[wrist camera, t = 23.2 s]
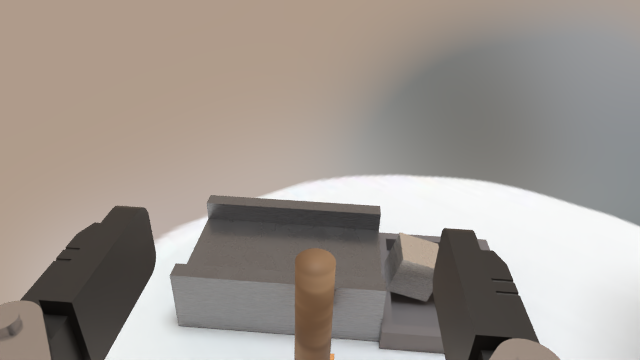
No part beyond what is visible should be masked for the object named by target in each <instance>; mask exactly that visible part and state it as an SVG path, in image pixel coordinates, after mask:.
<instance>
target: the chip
mask: <svg viewBox="0 0 640 360" xmlns="http://www.w3.org/2000/svg"><path fill="white" fill-rule="evenodd" d="M438 248H439V246H438V244H437V243H433V242H430V241H427V240H423V239H420V238H417V237H413V236H410V235H407V234H403V233H399V235H398V237H397V239H396V241H395V243H394V244H393V246H392V248H391V250H390V252H389V254H388V256H387V258H386V260H385V262H384V263H385V276H386V288H387V291H390V292H394V293H397V294H401V295H405V296H408V297H412V298H415V299H419V300H422V301H427V300H428V298H429V297H430V295H431V293H432V292H433V273H434V268H435V263H436V258H437V253H438Z"/></svg>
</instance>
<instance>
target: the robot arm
mask: <svg viewBox="0 0 640 360" xmlns="http://www.w3.org/2000/svg"><path fill="white" fill-rule="evenodd" d="M155 262H156V251H155V246H154V240H153V235H152V230H151V225H150V220H149V215H148V212H147V210H146V209H145V208H142V207H128V206H115V207H114V208H113V209H112V210H111V211H110V212H109V214H108V215H107V216H106V217H105V218H104V220H103V221H102V222H101V223H93V224H92V225H90V226H89V227H87V228H85V229H84V230H82V231H81V232H79V233H78V234H77V235H76V236H75V237H74V238H73V239H72V240H71V242H70V243H69V244H68V245H67V247H66V249H65V250H63V251H62V252H61V253H60V255H59V256H58V257H57V258H56V261H53V263H52V264H51V265H50V266H49V267H48V268H47V270H46V271H45V272H44V273H43V274H42V275H41V277H40V278H39V279H38V280H37V281H36V283H35V284H34V285H33V286H32V287H31V288H30V289H29V291H28V292H27V293H26V294H25V295H24V297H23V298H22V299H21V300H20V301H14V302H8V303H5V304H2V305H0V360H104V359H105V357H106V356H107V354H108V352H109V350H110V349H111V347H112V345H113V343H114V341H115V340H116V338H117V336H118V334H119V332H120V331H121V329H122V327H123V325H124V324H125V322H126V320H127V318H128V316H129V315H130V313H131V311H132V309H133V307H134V306H135V304H136V302H137V300H138V299H139V297H140V295H141V293H142V291H143V290H144V288H145V286H146V284H147V282H148V281H149V279H150V277H151V275H152V273H153V271H154V267H155ZM433 296H434V302H435V307H436V312H437V317H438V322H439V327H440V333H441V338H442V343H443V348H444V353H445V358H446V360H560V359H559V358H558V357H557V356H556V355H555V354H554V353H553V352H552V351H551V350H549V349H548V348H546V347H545V346H543V345H541V344H540V343H539V341H538V339H537V336H536V334H535V331H534V329H533V326H532V324H531V322H530V319H529V317H528V314H527V312H526V310H525V307H524V305H523V302H522V300H521V298H520V296H518V290H517V288H516V286H515V283H513V278H512V276H511V274H510V271H509V269H508V266H507V264H506V263H505V262H504V261H503V260H502V259H501V258H500V257H499V256H498V255H497V254H496V253H495V252H494V251H490V250H481V249H480V246H479V243H478V241H477V238H476V235H475V233H474V231H473V230H462V229H447V228H444V229H443V231H442V234H441V239H440V243H439V248H438V253H437V258H436V263H435V268H434V273H433Z"/></svg>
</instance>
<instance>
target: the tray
mask: <svg viewBox="0 0 640 360" xmlns="http://www.w3.org/2000/svg"><path fill="white" fill-rule="evenodd" d="M398 235H399V234H392V233H379V242H380V257H381V273H382V278H384V279H385V281H386V276H385V263H384V262H385V260H386V258H387V256H388V254H389V252H390V250H391V248H392V246H393V244H394V243H395V241H396V239H397V237H398ZM410 236H413V237H417V238H420V239H423V240H427V241H430V242H433V243H437V244H438V246H439V243H440V239H441V237H436V236H421V235H410ZM477 241H478V243H479V246H480V249H481V250H490V249H489V246H488V244H487V241H486V240H481V239H477ZM379 347H380V348H383V349H395V350H408V351H421V352H433V353H444V348H443V343H442V338H441V333H440V327H439V322H438V317H437V312H436V307H435V302H434V296H433V292H432V293H431V295H430V297H429V298H428V300H427V301H422V300H419V299H415V298H412V297H408V296H405V295H401V294H397V293H394V292H390V291H387V288H386V297H385V304H384V311H383V318H382V325H381V332H380V339H379Z"/></svg>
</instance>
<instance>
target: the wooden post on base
mask: <svg viewBox="0 0 640 360" xmlns="http://www.w3.org/2000/svg"><path fill="white" fill-rule="evenodd" d="M335 269H336V260H335V257H334V256H333V255H332V254H331V253H330V252H328V251H326V250H323V249H319V248H311V249H306V250H304V251H302V252H300V253H299V254H298V255H297V256H296V259H295V360H334V354H330V349H331V333H332V317H333V301H334V285H335Z"/></svg>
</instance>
